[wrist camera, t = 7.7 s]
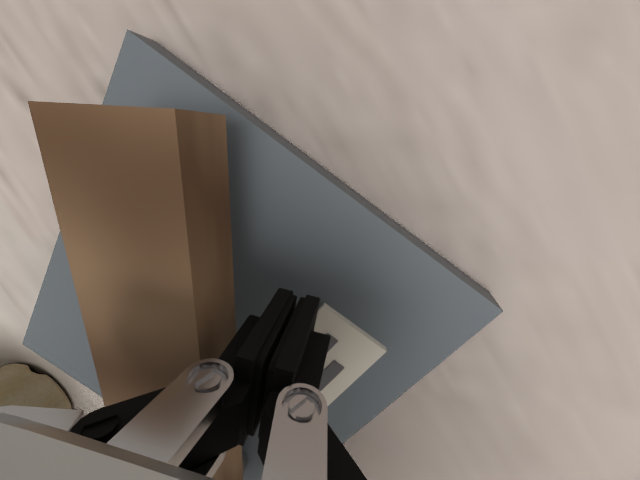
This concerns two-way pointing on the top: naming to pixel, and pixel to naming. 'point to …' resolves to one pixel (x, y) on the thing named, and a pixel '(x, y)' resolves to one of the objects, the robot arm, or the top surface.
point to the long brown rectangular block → (144, 239)
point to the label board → (293, 260)
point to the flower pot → (30, 389)
